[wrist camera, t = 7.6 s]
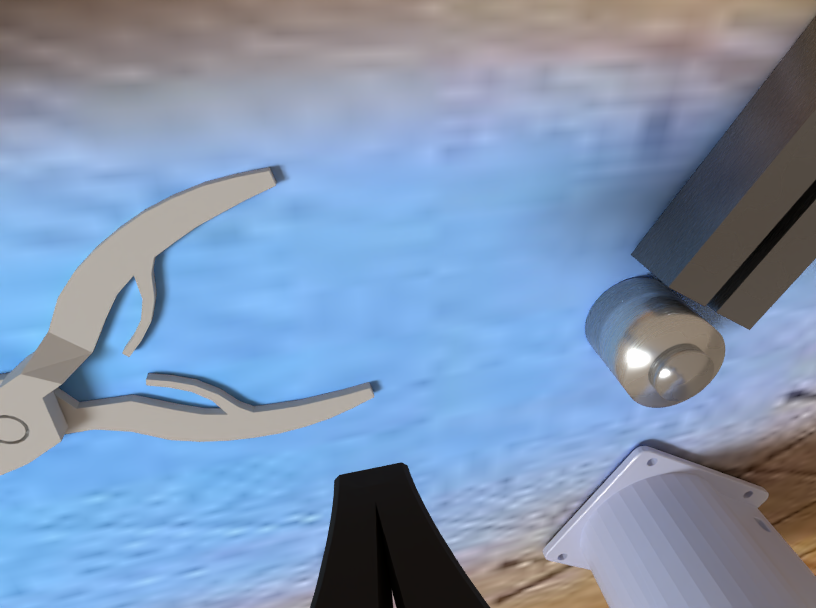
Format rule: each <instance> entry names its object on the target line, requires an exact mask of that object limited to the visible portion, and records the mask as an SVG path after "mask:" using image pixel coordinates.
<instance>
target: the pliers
mask: <svg viewBox="0 0 816 608" xmlns="http://www.w3.org/2000/svg"><path fill="white" fill-rule="evenodd" d="M274 186H276V180H275V178H274V176H273V173H272V171H271V169H270V167H268V168H263V169H258V170H253V171H247V172H242V173H237V174H233V175H229V176H226V177H222V178H218V179H214V180H210V181H206V182H203V183H201V184H198V185H196V186H194V187H191V188H189V189H186V190H184V191H181V192H179V193H176V194H174V195H172V196H170V197H168V198H166V199H164V200H162V201H160V202H158V203H157V204H155V205H153V206H151V207H149V208H147V209H145V210H144V211H142V212H141V213H139V214H138V215H137V216H135V217H134V218H132V219H131V220H129V221H128V222H126V223H125V224H124V225H122V226H121V227H119V228H118V229H117V230H116V231H115V232H114V233H112V234H111V235H110V236H109V237H108V238H106V239H105V240H104V241H103V242H102V243H100V244H99V245H98V246H97V247H96V248H95V249H94V250H93V251H92V252H91V254H90V255H89V256H88V257H87V258H86V259H85V260H84V261H83V262H82V263H81V264H80V265H79V266H78V268H77V269H76V270H75V272H74V273H73V275H72V277H71V278H70V280H69V281H68V283H67V284H66V286H65V287H64V289H63V291H62V292H61V294H60V295H59V297H58V299H57V303H56V306H55V310H54V314H53V317H52V321H51V324H50V328H49V331H48V333H47V334H46V336H45V337H44V339H43V341H42V342H41V344H40V345H39V347H38V348H37V350H36V351H35V352H33V353H32V354H30V355H29V356H27V357H26V358H25V359H24V360H23V361H22V362H21V363H20V364H19V365H18V366H16V367H15V368H14V369H13V370H12V371H11V372H10V373H4V374H0V475H3V474H5V473H7V472H10V471H12V470H15V469H17V468H19V467H22V466H24V465H26V464H28V463H30V462H31V461H33V460H34V459H36V458H37V457H39V456H40V455H42V454H43V453H45V452H46V451H47V450H49V449H50V448H52V447H53V446H55V445H56V444H58V443H59V442H61V441H62V439H63V436H64V434H69V433H75V432H81V431H87V430H94V429H97V430H114V431H131V432H136V433H140V434H145V435H150V436H154V437H159V438H164V439H168V440H180V441H197V442H204V441H229V440H238V439H247V438H255V437H261V436H267V435H273V434H279V433H283V432H287V431H290V430H294V429H298V428H302V427H306V426H309V425H312V424H315V423H318V422H321V421H323V420H326V419H329V418H332V417H334V416H336V415H338V414H341V413H343V412H345V411H347V410H349V409H352V408H354V407H356V406H358V405H359V404H361V403H363V402H365V401H367V400H369V399H371V398H373V397H374V393H373V390H372V387H371V385H370V383H369V382H367V383H364V384H360V385H357V386H353V387H350V388H346V389H343V390H339V391H334V392H330V393H326V394H322V395H318V396H313V397H309V398H305V399H300V400H295V401H288V402H282V403H275V404H267V405H259V406H252V405H249V404H247V403H244V402H241V401H239V400H237V399H236V398H234V397H233V396H231V395H229V394H228V393H226V392H225V391H223V390H221V389H220V388H218V387H215V386H212V385H210V384H207V383H205V382H202V381H199V380H197V379H192V378H186V377H181V376H175V375H166V374H154V373H148V375H147V378H146V385H150V386H160V387H170V388H175V389H180V390H185V391H190V392H193V393H196V394H198V395H200V396H203V397H205V398H207V399H210V400H212V401H213V402H214V403H216V404H217V405H218V406H219V407H220V408H201V407H195V406H189V405H183V404H177V403H172V402H167V401H162V400H157V399H152V398H148V397H143V396H138V395H126V396H119V397H112V398H105V399H98V400H91V401H83V402H79V401H77V400H76V399H74V398H73V397H71V396H70V395H68V394H67V393H65V392H64V391H62V390H61V389H59V388H58V387H59V386H60V385H62V384H63V383H64V382H65V381H66V380H67V379H68V378H69V377H70V375H71V374H72V373H73V372H74V371H75V370H76V369H77V368H78V367H79V366H80V365H81V364H82V363H83V362H84V361H85V360H86V359H87V358H88V357H89V356H90V355H91V354H92V352H93V350H94V348H95V346H96V344H97V341H98V339H99V336H100V334H101V331H102V329H103V326H104V323H105V321H106V318H107V316H108V313H109V311H110V309H111V307H112V305H113V302H114V300H115V298H116V296H117V294H118V293H119V292H120V291H121V289H122V288H123V287H124V286H125V285H126V284H127V283H128V281H129V280H130V279H131V278H132V277H133V276H134V277H135V280H136V283H137V285H138V288H139V291H140V293H141V296H142V299H143V301H142V315H141V321H140V323H139V325H138V327H137V329H136V332H135V333H134V335H133V336H132V337H131V339H130V340H129V342H128V343H127V345H126V346H125V348H124V350H123V354H125V355H126V356H128V357H130V355H131V354H132V353H133V351H134V350H135V349H136V347H137V346H138V345H139V343H140V342H141V340H142V338H143V337H144V335H145V333H146V331H147V329H148V327H149V325H150V323H151V321H152V318H153V314H154V308H155V302H156V295H157V292H156V284H155V276H154V263H155V258H156V256H157V255H158V254H160V253H161V252H162V251H164V250H165V249H166V248H168V247H169V246H170V245H172V244H173V243H174V242H176V241H177V240H178V239H180V238H181V237H183V236H184V235H186V234H187V233H188V232H190V231H191V230H193V229H194V228H196V227H197V226H199V225H201V224H203V223H204V222H206V221H208V220H210V219H211V218H213V217H215V216H217V215H219V214H221V213H222V212H224V211H226V210H228V209H230V208H232V207H233V206H235V205H237V204H239V203H241V202H243V201H245V200H246V199H249V198H251V197H253V196H255V195H257V194H259V193H261V192H263V191H266V190H268V189H270V188H272V187H274Z"/></svg>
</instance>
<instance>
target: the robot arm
mask: <svg viewBox="0 0 816 608" xmlns="http://www.w3.org/2000/svg"><path fill="white" fill-rule="evenodd" d="M768 496H769V494H768V492H767V491H766V490H765V489H764V488H763V487H761V486H758V485H755V484H752V483H750V482H747V481H744V480H741V479H738V478H735V477H733V476H730V475H727V474H724V473H721V472H719V471H716V470H713V469H710V468H707V467H705V466H702V465H699V464H696V463H693V462H691V461H688V460H685V459H682V458H679V457H676V456H674V455H671V454H668V453H665V452H662V451H660V450H657V449H654V448H651V447H648V446H640V447H638V448H636V449H635V450H633V451H632V453H631V454H630V455H629V456H628V457H627V458H626V459H625V460H624V461H623V462H622V463H621V465H620V466H619V467H618V468H617V469H616V470H615V471H614V472H613V473H612V474H611V475H610V477H609V478H608V479H607V480H606V481H605V482H604V483H603V484H602V485H601V486H600V487H599V489H598V490H597V491H596V492H595V493H594V494H593V495H592V496H591V497H590V498H589V499H588V501H587V502H586V503H585V504H584V505H583V506H582V507H581V508H580V509H579V510H578V511H577V513H576V514H575V515H574V516H573V517H572V518H571V519H570V520H569V521H568V522H567V523H566V524H565V526H564V527H563V528H562V529H561V530H560V531H559V532H558V533H557V534H556V535H555V536H554V538H553V539H552V540H551V541H550V542H549V543H548V544H547V545H546V546H545V548H544V549H543V553H544V556H545V558H546V559H547V560H549V561H553V562H558V563H562V564H567V565H571V566H576V567H580V568H585V569H589V570H591V571H592V573H593V575H594V577H595V579H596V581H597V583H598V585H599V587H600V589H601V591H602V593H603V595H604V597H605V599H606V601H607V603H608V606H609V608H816V576H815V575H814V574H813V573H812V572H811V570H810V569H809V568H808V567H807V566H806V565H805V563H804V562H803V561H802V560H801V559H800V557H799V556H798V555H797V554H796V553H795V552H794V550H793V549H792V548H791V547H790V546H789V545H788V543H787V542H786V541H785V540H784V539H783V538H782V536H781V535H780V534H779V533H778V532H777V530H776V529H775V528H774V527H773V526H772V525H771V523H770V522H769V521H768V520H767V519H766V518H765V516H764V515H763V514H762V513H761V512H760V511H759V509H758V507H759V506H761V505H762V504H763V503H764V502H765V501H766V500H767V499H768ZM392 592H393V596H394V600H395V604H396V608H490V607H489V605H488V604H487V603H486V601H485V600H484V599H483V597H482V596H481V594H480V593H479V591H478V590H477V589H476V587H475V586H474V584H473V583H472V582H471V580H470V579H469V577H468V576H467V574H466V573H465V571H464V570H463V568H462V567H461V566H460V564H459V563H458V561H457V559H456V558H455V556H454V555H453V553H452V551H451V550H450V548H449V547H448V545H447V543H446V542H445V540H444V539H443V537H442V535H441V534H440V532H439V530H438V529H437V527H436V525H435V524H434V522H433V520H432V518H431V516H430V514H429V513H428V511H427V509H426V507H425V505H424V503H423V501H422V499H421V497H420V495H419V493H418V491H417V489H416V487H415V484H414V482H413V479H412V477H411V474H410V472H409V468H408V466H407V465H405V464H404V463H402V462H401V463H396V464H392V465H387V466H382V467H377V468H372V469H367V470H362V471H357V472H352V473H347V474H342V475H339V476H338V477H337V478H336V479H335V480H334V497H333V507H332V514H331V520H330V526H329V531H328V537H327V542H326V547H325V551H324V555H323V560H322V564H321V568H320V573H319V577H318V581H317V585H316V589H315V593H314V596H313V600H312V603H311V606H310V608H393V599H392Z"/></svg>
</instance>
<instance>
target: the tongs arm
mask: <svg viewBox="0 0 816 608" xmlns="http://www.w3.org/2000/svg"><path fill="white" fill-rule="evenodd" d="M815 180H816V17H815V18H814V19H813V21H812V22H811V23H810V24H809V26H808V27H807V28H806V30H805V31H804V32H803V34H802V35H801V36H800V37H799V39H798V40H797V41H796V43H795V44H794V45H793V46H792V48H791V49H790V50H789V52H788V53H787V54H786V55H785V57H784V58H783V59H782V61H781V62H780V63H779V64H778V66H777V67H776V68H775V70H774V71H773V72H772V73H771V75H770V76H769V77H768V79H767V80H766V81H765V82H764V84H763V85H762V86H761V88H760V89H759V90H758V91H757V93H756V94H755V95H754V97H753V98H752V99H751V100H750V102H749V103H748V104H747V106H746V107H745V108H744V109H743V111H742V112H741V113H740V115H739V116H738V117H737V119H736V120H735V121H734V122H733V124H732V125H731V126H730V128H729V129H728V130H727V131H726V133H725V134H724V135H723V137H722V138H721V139H720V140H719V142H718V143H717V144H716V146H715V147H714V148H713V149H712V151H711V152H710V153H709V155H708V156H707V157H706V158H705V160H704V161H703V162H702V164H701V165H700V166H699V167H698V169H697V170H696V171H695V173H694V174H693V175H692V176H691V178H690V179H689V180H688V182H687V183H686V184H685V185H684V187H683V188H682V189H681V191H680V192H679V193H678V195H677V196H676V197H675V198H674V200H673V201H672V202H671V204H670V205H669V206H668V207H667V209H666V210H665V211H664V213H663V214H662V215H661V216H660V218H659V219H658V220H657V222H656V223H655V224H654V225H653V227H652V228H651V229H650V231H649V232H648V233H647V234H646V236H645V237H644V238H643V240H642V241H641V242H640V243H639V245H638V246H637V247H636V249H635V250H634V251H633V252H632V254H631V255H632V256H633V257H634V258H635V259H637V260H638V261H639V262H640V263H641V264H642V265H643V266H645V267H646V268H647V269H648V270H649V271H650V272H651V273H653V274H654V275H655V276H656V277H657V278H658V279H660V280H661V281H662V282H663V283H664V284H665V285H666V286H668V287H669V288H671V289H673V290H675V291H677V292H678V293H680V294H682V295H684V296H686V297H688V298H690V299H692V300H694V301H695V302H697V303H699V304H701V305H703V306H706V305H707V304H708V302H709V301H710V300H711V299H712V298H713V297H714V295H715V294H716V293H717V292H718V291H719V290H720V289H721V287H722V286H723V285H724V284H725V283H726V282H727V281H728V279H729V278H730V277H731V276H732V275H733V274H734V273H735V271H736V270H737V269H738V268H739V267H740V266H741V265H742V263H743V262H744V261H745V260H746V259H747V258H748V257H749V255H750V254H751V253H752V252H753V251H754V250H755V248H756V247H757V246H758V245H759V244H760V243H761V242H762V240H763V239H764V238H765V237H766V236H767V235H768V234H769V232H770V231H771V230H772V229H773V228H774V227H775V226H776V224H777V223H778V222H779V221H780V220H781V219H782V218H783V216H784V215H785V214H786V213H787V212H788V211H789V210H790V208H791V207H792V206H793V205H794V204H795V203H796V201H797V200H798V199H799V198H800V197H801V196H802V195H803V193H804V192H805V191H806V190H807V189H808V188H809V187H810V185H811V184H812V183H813V182H814V181H815Z"/></svg>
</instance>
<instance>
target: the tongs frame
mask: <svg viewBox="0 0 816 608" xmlns="http://www.w3.org/2000/svg"><path fill="white" fill-rule="evenodd" d="M815 258H816V180H815V181H814V182H813V183H812V184H811V185H810V187H809V188H808V189H807V190H806V191H805V192H804V193H803V195H802V196H801V197H800V198H799V199H798V200H797V201H796V203H795V204H794V205H793V206H792V207H791V208H790V210H789V211H788V212H787V213H786V214H785V215H784V216H783V218H782V219H781V220H780V221H779V222H778V223H777V224H776V226H775V227H774V228H773V229H772V230H771V231H770V232H769V234H768V235H767V236H766V237H765V238H764V239H763V240H762V242H761V243H760V244H759V245H758V246H757V247H756V248H755V250H754V251H753V252H752V253H751V254H750V255H749V257H748V258H747V259H746V260H745V261H744V262H743V263H742V265H741V266H740V267H739V268H738V269H737V270H736V271H735V273H734V274H733V275H732V276H731V277H730V278H729V279H728V281H727V282H726V283H725V284H724V285H723V286H722V287H721V289H720V290H719V291H718V292H717V293H716V294H715V295H714V297H713V298H712V299H711V300H710V301H709V302H708V304H707V305H708V306H709V307H710V308H712V309H713V310H714V311H715V312H716V313H718V314H720V315H722V316H724V317H726V318H728V319H730V320H732V321H734V322H736V323H737V324H739V325H741V326H743V327H745V328H747V329H749V330H750V329H751V328H752V327H753V326H754V325H755V324H756V322H757V321H758V320H759V319H760V318H761V317H762V316H763V315H764V314H765V313H766V312H767V310H768V309H769V308H770V307H771V306H772V305H773V304H774V303H775V302H776V301H777V300H778V299H779V297H780V296H781V295H782V294H783V293H784V292H785V291H786V290H787V289H788V288H789V287H790V286H791V284H792V283H793V282H794V281H795V280H796V279H797V278H798V277H799V276H800V275H801V274H802V273H803V271H804V270H805V269H806V268H807V267H808V266H809V265H810V264H811V263H812V262H813V261H814V260H815ZM585 334H586V338H587V340H588V342H589V344H590V345H591V346H592V348H593V349H594V350H595V352H596V353H597V354H598V355H599V357H600V358H601V359H602V361H603V362H604V363H605V364H606V366H607V367H608V368H609V370H610V371H611V372H612V373H613V375H614V376H615V377H616V379H617V380H618V381H619V382H620V384H621V385H622V386H623V388H624V389H625V390H626V391H627V393H628V394H629V395H630V397H631V398H632V399H633V400H634V401H636V402H637V403H639V404H641V405H643V406H646V407H652V408H661V407H668V406H672V405H676V404H678V403H681V402H683V401H685V400H687V399H689V398H691V397H693V396H694V395H696V394H698V393H699V392H700V391H702V390H703V389H704V388H705V387H706V386H707V385H708V384H709V383H710V382H711V381H712V379H713V378H714V377H715V376H716V374H717V373H718V371H719V369H720V367H721V365H722V363H723V360H724V356H725V343H724V340H723V337H722V336H721V334H720V333H719V332H718V331H717V330H716V329H715V328H714V327H713V326H711V325H710V324H709V323H708V322H707V321H706V320H704V319H703V318H702V317H701V316H700V315H699V314H698V313H696V312H695V311H694V310H693V309H692V308H691V307H690V306H688V305H687V304H686V303H685V302H684V301H683V300H682V299H680V298H679V297H678V296H677V295H676V294H675V293H673V292H672V291H671V290H670V289H669V288H668V287H667V286H665V285H664V284H663V283H662V282H660V281H658V280H656V279H653V278H648V277H637V278H632V279H628V280H625V281H622V282H620V283H618V284H616V285H614V286H613V287H611V288H610V289H608V290H607V291H606V292H604V293H603V294H602V295H601V296H600V297H599V298H598V299H597V301H596V302H595V303H594V305H593V306H592V308H591V309H590V311H589V313H588V316H587V319H586V324H585Z"/></svg>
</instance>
